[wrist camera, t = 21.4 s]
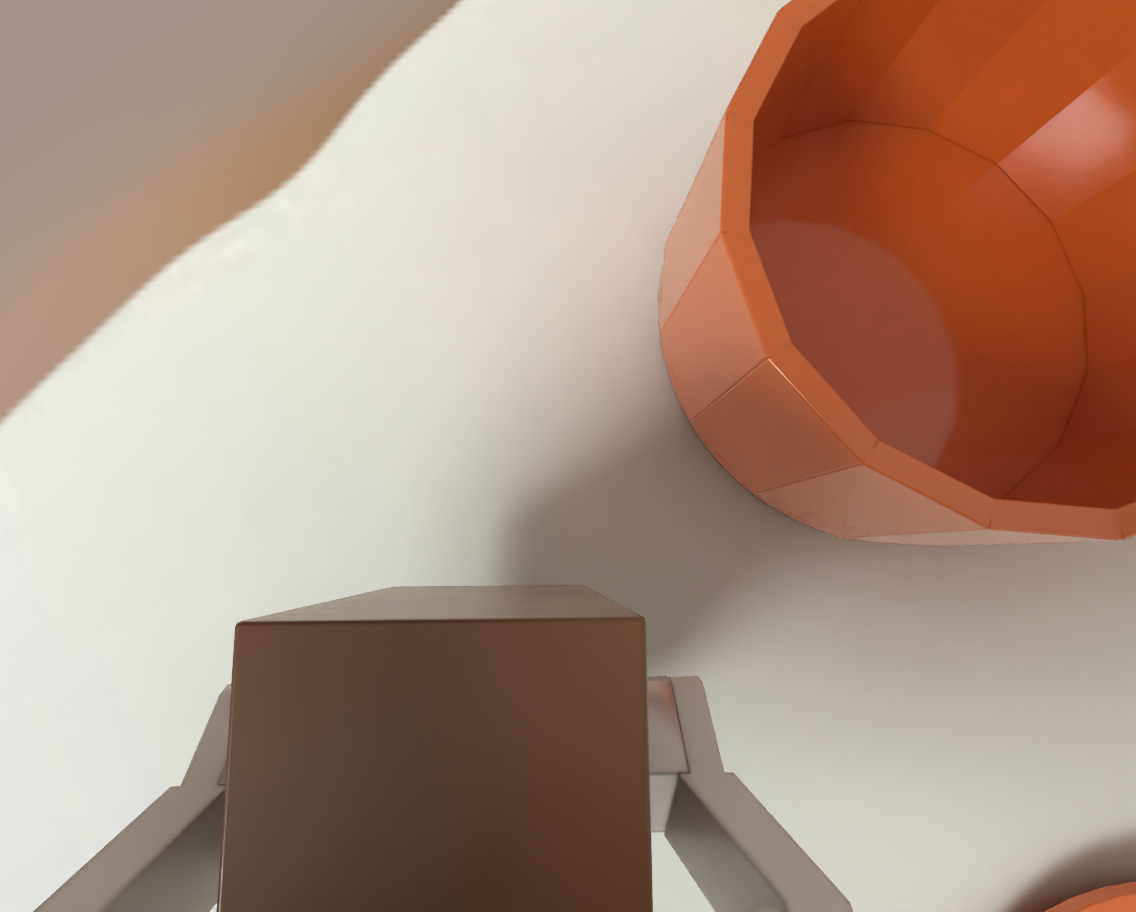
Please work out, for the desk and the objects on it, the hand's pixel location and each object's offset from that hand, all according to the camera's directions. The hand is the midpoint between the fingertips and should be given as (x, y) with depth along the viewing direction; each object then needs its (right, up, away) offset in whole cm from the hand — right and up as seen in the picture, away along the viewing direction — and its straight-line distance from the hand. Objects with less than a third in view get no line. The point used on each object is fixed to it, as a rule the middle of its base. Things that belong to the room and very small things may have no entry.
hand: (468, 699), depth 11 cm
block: (0, -1, +4) cm, 5 cm away
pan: (+11, +8, +9) cm, 16 cm away
